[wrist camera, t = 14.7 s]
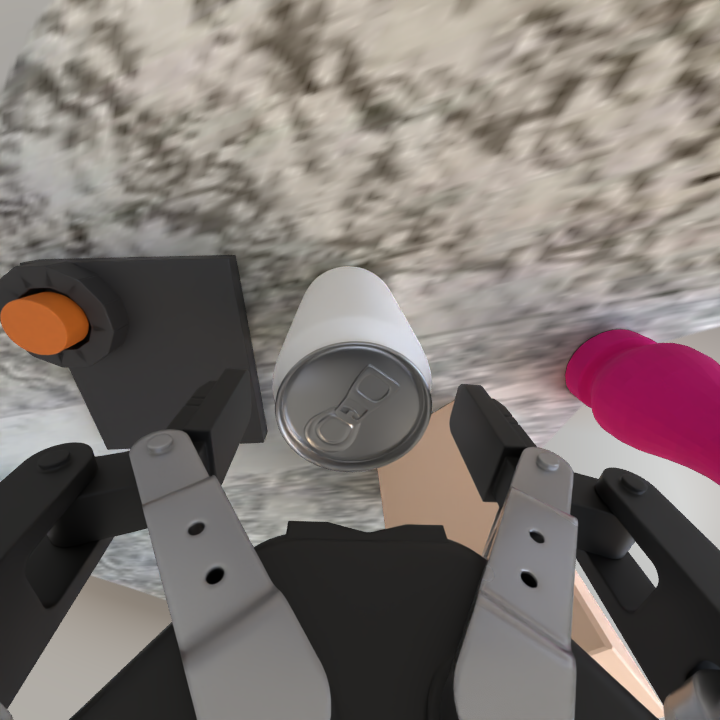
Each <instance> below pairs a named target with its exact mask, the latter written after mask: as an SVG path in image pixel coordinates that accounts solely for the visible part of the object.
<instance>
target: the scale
mask: <svg viewBox="0 0 720 720" xmlns="http://www.w3.org/2000/svg"><path fill="white" fill-rule="evenodd" d="M41 292H55V293H59V294H62V295H64V296H66V297H68V298H70V299H71V300H73V301H74V302H75V303H77V304H78V305H79V306H80V307H81V309H82V310H83V311H84V313H85V314H86V316H87V319H88V322H89V331H88V334H87V336H86V337H85V338H84V339H83V340H82V341H80V342H78V343H76V344H74V345H72V346H71V347H69V348H67V349H65V350H63V351H61V352H59V353H57V354H53V355H40V354H35V353H32V352H29V351H27V350H26V351H27V352H29V353H30V354H31V355H32V356H34V357H36V358H39V359H42V360H44V361H47V362H50V363H52V364H55V365H58V366H60V367H69V369H70V371H71V373H72V376H73V378H74V380H75V382H76V384H77V386H78V388H79V390H80V392H81V395H82V397H83V399H84V401H85V403H86V405H87V407H88V409H89V412H90V414H91V416H92V418H93V420H94V422H95V424H96V426H97V428H98V431H99V433H100V435H101V437H102V439H103V441H104V443H105V445H106V447H107V449H108V450H110V449H131V447H132V446H133V445H134V444H135V443H136V442H137V441H138V440H139V439H141V438H142V437H144V436H146V435H148V434H150V433H153V432H156V431H160V430H165V429H166V428H167V426H168V425H169V424H170V423H171V421H172V420H173V419H174V418H175V416H176V415H177V414H178V413H179V411H180V410H181V409H182V407H183V406H185V404H186V402H187V401H188V400H189V399H190V398H191V396H192V395H193V394H194V392H195V391H196V390H197V388H198V387H200V386H202V385H203V384H205V383H207V382H208V381H210V380H211V381H217V380H218V379H219V378H220V376H221V375H222V373H223V372H224V371H225V369H226V368H232V369H247V370H249V374H250V387H251V404H252V408H251V416H250V420H249V423H248V425H247V428H246V430H245V432H244V434H243V437H242V439H241V441H240V444H242V443H263V442H264V440H265V437H266V434H267V427H266V421H265V416H264V410H263V404H262V399H261V393H260V388H259V382H258V377H257V371H256V366H255V360H254V355H253V349H252V344H251V338H250V333H249V327H248V321H247V316H246V310H245V305H244V299H243V294H242V288H241V283H240V277H239V272H238V266H237V261H236V256H235V255H213V256H170V257H128V258H85V259H43V260H34V261H29V262H23V263H20V266H16V267H14V268H13V269H11V270H10V271H9V272H8V273H7V274H5V275H4V276H3V277H2V278H0V315H1V311H2V309H3V307H4V306H5V305H6V304H7V303H9V302H11V301H13V300H16V299H20V298H23V297H27V296H30V295H34V294H37V293H41ZM0 322H1V320H0Z"/></svg>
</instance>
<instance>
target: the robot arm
mask: <svg viewBox="0 0 720 720" xmlns="http://www.w3.org/2000/svg"><path fill="white" fill-rule="evenodd" d="M251 408H252V404H251V387H250V374H249V370H247V369H232V368H226V369H225V371H224V372H223V373H222V375H221V376H220V378H219V379H218V380H217V381H211V380H210V381H208V382H207V383H205V384H203V385H202V386H200V387H198V388H197V390H196V391H195V392H194V394H193V395H192V396H191V398H190V399H189V400H188V401H187V402H186V404H185V406H183V407H182V409H181V410H180V411H179V413H178V414H177V415H176V416H175V418H174V419H173V420H172V421H171V423H170V424H169V425H168V426H167V428H166V429H165V430H160V431H156V432H153V433H150V434H148V435H146V436H144V437H142V438H141V439H139V440H138V441H137V442H136V443H135V444H134V445H133V446H132V447H131V449H130V451H127V452H122V453H116V454H110V455H104V456H98V457H95V456H94V453H93V450H92V448H91V447H90V446H89V445H87V444H84V443H65V444H60V445H56V446H53V447H50V448H47V449H45V450H42V451H40V452H38V453H36V454H34V455H33V456H31V457H29V458H28V459H27V460H25V461H24V462H23V463H22V464H21V465H19V466H18V467H17V468H16V469H15V470H14V471H13V472H11V473H10V474H9V475H8V476H7V477H6V478H5V479H3V480H2V481H1V482H0V720H13V718H12V715H11V714H10V712H9V711H8V710H7V709H8V707H9V705H10V704H11V702H12V701H13V699H14V697H15V696H16V694H17V693H18V691H19V689H20V688H21V686H22V684H23V683H24V681H25V680H26V678H27V676H28V675H29V673H30V671H31V670H32V668H33V667H34V665H35V664H36V662H37V660H38V659H39V657H40V655H41V654H42V652H43V650H44V649H45V647H46V646H47V644H48V643H49V641H50V639H51V638H52V636H53V634H54V633H55V631H56V630H57V628H58V626H59V625H60V623H61V622H62V620H63V618H64V617H65V615H66V614H67V612H68V610H69V609H70V607H71V605H72V604H73V602H74V600H75V599H76V597H77V596H78V594H79V593H80V591H81V589H82V587H83V586H84V584H85V583H86V581H87V580H88V578H89V576H90V575H91V573H92V572H93V570H94V568H95V567H96V565H97V564H98V562H99V560H100V559H101V557H102V555H103V554H104V552H105V551H106V549H107V547H108V546H109V544H110V543H111V541H112V539H113V538H114V536H118V535H122V534H126V533H130V532H134V531H138V530H143V529H147V528H148V531H149V535H150V538H151V542H152V546H153V550H154V554H155V558H156V561H157V565H158V569H159V573H160V577H161V581H162V584H163V588H164V592H165V596H166V600H167V604H168V607H169V611H170V615H171V619H172V622H171V623H170V624H169V625H168V626H167V627H166V628H165V629H164V630H163V631H162V632H161V633H160V634H159V635H158V636H157V637H156V638H155V639H154V640H152V641H151V642H150V643H149V644H148V645H147V646H146V647H145V648H144V649H143V650H142V651H141V652H140V653H139V654H138V655H137V656H136V657H135V658H134V659H132V660H131V661H130V662H129V663H128V664H127V665H126V666H125V667H124V668H123V669H122V670H121V671H120V672H119V673H118V674H117V675H116V676H115V677H114V678H113V679H111V680H110V682H108V683H107V684H106V685H105V686H104V687H103V688H102V689H101V690H100V691H99V692H98V693H97V694H96V695H95V696H94V697H92V698H91V699H90V701H88V702H87V703H86V704H85V705H84V706H83V707H82V708H81V709H80V710H79V711H78V712H77V713H76V714H75V715H73V716H72V717H71V718H70V719H69V720H659V719H658V718H657V717H656V716H654V715H653V714H652V713H651V712H650V711H649V710H648V709H647V708H646V707H645V706H644V705H643V704H642V703H640V702H639V701H638V700H637V699H636V698H635V697H634V696H633V695H632V694H631V693H630V692H629V691H628V690H626V689H625V688H624V687H623V686H622V685H621V684H620V683H619V682H618V681H617V680H616V679H615V678H614V677H612V676H611V675H610V674H609V673H608V672H607V671H606V670H605V669H604V668H603V667H602V666H601V665H600V664H598V663H597V662H596V661H595V660H594V659H593V658H592V657H591V656H590V655H589V654H588V653H587V652H586V651H584V650H583V649H582V648H581V647H580V646H579V645H578V644H577V643H576V642H575V641H574V640H573V639H571V630H572V613H573V597H574V580H575V564H576V563H575V562H576V559H577V561H578V562H579V564H580V566H581V567H582V569H583V571H584V572H585V574H586V576H587V577H588V579H589V581H590V582H591V584H592V586H593V587H594V589H595V590H596V592H597V594H598V595H599V597H600V599H601V601H602V602H603V604H604V606H605V607H606V609H607V611H608V612H609V614H610V616H611V618H612V619H613V621H614V623H615V624H616V626H617V628H618V629H619V631H620V633H621V634H622V636H623V638H624V639H625V641H626V643H627V644H628V646H629V648H630V649H631V651H632V653H633V655H634V656H635V658H636V660H637V661H638V663H639V665H640V666H641V668H642V670H643V671H644V673H645V675H646V676H647V678H648V680H649V681H650V683H651V685H652V686H653V688H654V690H655V691H656V693H657V695H658V696H659V698H660V700H661V702H662V703H663V705H664V707H663V708H664V716H665V720H720V550H719V549H717V547H716V546H715V545H714V544H713V543H711V541H709V540H708V539H707V538H706V537H705V536H704V535H703V534H702V533H701V532H700V531H699V530H698V529H697V528H696V527H695V526H694V525H693V524H692V523H691V522H690V521H689V520H688V519H687V518H686V517H685V516H684V515H683V514H682V513H681V512H680V511H679V510H678V509H677V508H676V507H675V506H674V505H673V504H672V503H671V502H669V500H667V499H666V498H665V497H664V496H663V495H662V494H661V493H660V492H659V491H658V490H657V489H656V488H655V487H654V486H653V485H652V484H650V483H649V482H648V481H646V480H645V479H643V478H641V477H640V476H638V475H636V474H634V473H631V472H629V471H626V470H623V469H619V468H607V469H605V470H604V471H603V473H602V475H601V476H600V478H599V479H596V478H593V477H589V476H585V475H581V474H578V473H574V472H573V470H572V468H571V466H570V465H569V464H568V463H567V462H566V461H565V460H564V459H563V458H561V457H560V456H558V455H556V454H555V453H553V452H551V451H549V450H546V449H542V448H538V447H536V445H535V444H534V443H533V441H532V440H531V439H530V438H529V436H528V435H527V434H526V433H525V431H524V430H523V429H522V427H521V426H520V425H518V422H517V421H516V420H515V419H514V417H512V415H511V414H510V412H509V411H508V410H507V408H506V407H505V406H503V405H502V404H501V403H499V402H498V401H496V400H495V399H491V397H490V396H489V395H488V393H487V392H486V391H485V390H484V388H483V387H482V386H481V385H468V384H461V385H460V386H459V387H458V390H457V393H456V397H455V401H454V404H453V408H452V412H451V415H450V422H449V425H450V431H451V434H452V436H453V438H454V441H455V443H456V445H457V447H458V449H459V451H460V454H461V456H462V458H463V460H464V462H465V464H466V466H467V469H468V471H469V473H470V475H471V477H472V479H473V482H474V484H475V486H476V488H477V490H478V492H479V495H480V497H481V499H482V501H483V502H497V503H498V505H499V509H498V511H497V513H496V516H495V519H494V522H493V524H492V527H491V530H490V533H489V536H488V539H487V542H486V544H485V547H484V550H483V553H482V556H481V555H479V554H478V553H476V552H475V551H473V550H472V549H470V548H468V547H466V546H464V545H462V544H460V543H458V542H455V541H453V540H450V539H447V536H446V533H445V530H444V526H443V525H417V524H405V525H401V526H396V527H392V528H388V529H383V530H379V531H375V532H362V531H359V530H355V529H351V528H348V527H344V526H340V525H337V524H333V523H329V522H306V521H288V526H287V532H286V534H285V535H281V536H277V537H274V538H272V539H269V540H267V541H265V542H263V543H260V544H259V545H257V546H255V547H253V545H252V543H251V542H250V540H249V538H248V536H247V534H246V532H245V530H244V528H243V526H242V525H241V523H240V521H239V519H238V517H237V515H236V513H235V511H234V509H233V507H232V506H231V504H230V502H229V500H228V498H227V496H226V494H225V492H224V490H223V489H222V487H221V485H222V483H223V480H224V478H225V476H226V473H227V471H228V469H229V467H230V464H231V462H232V460H233V457H234V455H235V453H236V451H237V448H238V446H239V444H240V441H241V439H242V437H243V434H244V432H245V430H246V428H247V425H248V423H249V420H250V416H251ZM635 541H636V543H637V544H638V545H639V546H640V548H641V549H642V550H643V551H644V553H645V554H646V555H647V556H648V558H649V559H650V560H651V561H652V563H653V564H654V566H655V568H656V570H657V573H658V577H659V583H658V586H657V587H656V588H655V587H654V585H653V584H652V583H651V581H650V580H649V579H648V577H647V576H646V575H645V573H644V572H643V571H642V569H641V568H640V567H639V565H638V564H637V563H636V562H635V560H634V559H633V557H632V556H631V555H630V554H629V552H628V550H629V549H630V548H631V546H632V545H633V544H634V542H635Z"/></svg>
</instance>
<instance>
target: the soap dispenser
mask: <svg viewBox="0 0 720 720" xmlns="http://www.w3.org/2000/svg"><path fill="white" fill-rule="evenodd" d="M454 401H455V400H454ZM454 401H452V402H451V403H449V404H447V405H446V406H444V407H443V408H441V409H439V410H438V411H436V412H434V413H433V414H431V417H430V421H429V424H428V426H427V429H426V431H425V433H424V435H423V436H422V438H421V439H420V440H419V442H418V443H417V444H416V445H415V446H414V447H413V448H412V449H411V450H410V451H409V452H408V453H407V454H405V455H404V456H403V457H401V458H400V459H398V460H396V461H394V462H393V463H390V464H388V465H386V466H383V467H380V468H377V469H378V477H379V484H380V492H381V499H382V507H383V514H384V521H385V529H388V528H392V527H396V526H401V525H405V524H417V525H443V526H444V530H445V533H446V536H447V539H450V540H453V541H455V542H458V543H460V544H462V545H464V546H466V547H468V548H470V549H472V550H473V551H475V552H476V553H478V554H479V555H481V556H482V553H483V550H484V547H485V544H486V542H487V539H488V536H489V533H490V530H491V527H492V524H493V522H494V519H495V516H496V513H497V511H498V509H499V505H498V503H497V502H483V501H482V499H481V497H480V495H479V492H478V490H477V488H476V486H475V484H474V482H473V479H472V477H471V475H470V473H469V471H468V469H467V466H466V464H465V462H464V460H463V458H462V456H461V454H460V451H459V449H458V447H457V445H456V443H455V441H454V438H453V436H452V434H451V431H450V425H449V422H450V415H451V412H452V408H453V404H454ZM571 639H573V640H574V641H575V642H576V643H577V644H578V645H579V646H580V647H581V648H582V649H583V650H584V651H586V652H587V653H588V654H589V655H590V656H591V657H592V658H593V659H594V660H595V661H596V662H597V663H598V664H600V665H601V666H602V667H603V668H604V669H605V670H606V671H607V672H608V673H609V674H610V675H611V676H612V677H614V678H615V679H616V680H617V681H618V682H619V683H620V684H621V685H622V686H623V687H624V688H625V689H626V690H628V691H629V692H630V693H631V694H632V695H633V696H634V697H635V698H636V699H637V700H638V701H639V702H640V703H642V704H643V705H644V706H645V707H646V708H647V709H648V710H649V711H650V712H651V713H652V714H653V715H654V716H656V717H657V718H660V717H664V708H663V706H662V704H661V703H660V701H659V699H658V698H657V696H656V695H655V693H654V691H653V690H652V688H651V687H650V685H649V684H648V682H647V681H646V679H645V677H644V676H643V674H642V673H641V671H640V670H639V668H638V666H637V665H636V664H635V662H634V660H633V659H632V657H631V655H630V654H629V652H628V651H627V649H626V648H625V646H624V645H623V643H622V641H621V640H620V638H619V637H618V635H617V634H616V632H615V631H614V629H613V628H612V626H611V624H610V623H609V621H608V620H607V618H606V617H605V615H604V613H603V612H602V610H601V609H600V607H599V606H598V604H597V602H596V601H595V599H594V598H593V596H592V595H591V593H590V592H589V590H588V588H587V587H586V585H585V584H584V582H583V581H582V579H581V577H580V576H579V575H578V573H577V571H576V570H575V580H574V597H573V613H572V630H571Z"/></svg>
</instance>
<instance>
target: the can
mask: <svg viewBox="0 0 720 720" xmlns="http://www.w3.org/2000/svg"><path fill="white" fill-rule="evenodd" d="M272 388H273V397H274V401H275V415H276V421H277V425H278V428H279V430H280V432H281V434H282V436H283V438H284V439H285V441H286V442H287V444H288V445H289V446H290V447H291V448H292V449H293V450H294V451H295V452H296V453H297V454H298V455H300V456H301V457H302V458H304V459H305V460H307V461H309V462H311V463H313V464H315V465H317V466H320V467H323V468H326V469H330V470H334V471H341V472H362V471H369V470H373V469H377V468H380V467H383V466H386V465H388V464H390V463H393V462H394V461H396V460H398V459H400V458H401V457H403V456H404V455H405V454H407V453H408V452H409V451H410V450H411V449H412V448H413V447H414V446H415V445H416V444H417V443H418V442H419V440H420V439H421V438H422V436H423V435H424V433H425V431H426V429H427V426H428V424H429V421H430V417H431V411H432V400H431V388H432V378H431V371H430V367H429V363H428V360H427V358H426V355H425V353H424V351H423V349H422V347H421V345H420V343H419V341H418V339H417V337H416V336H415V334H414V332H413V330H412V328H411V326H410V325H409V323H408V321H407V319H406V317H405V316H404V314H403V312H402V310H401V308H400V307H399V305H398V303H397V301H396V300H395V298H394V296H393V294H392V293H391V291H390V290H389V288H388V287H387V285H386V284H385V283H384V282H383V281H382V280H381V279H380V278H379V277H378V276H377V275H375V274H374V273H372V272H370V271H368V270H366V269H363V268H359V267H353V266H344V267H337V268H334V269H331V270H328V271H326V272H324V273H323V274H321V275H320V276H319V277H317V278H316V279H315V280H314V281H313V282H312V283H311V285H310V286H309V287H308V289H307V291H306V292H305V294H304V297H303V299H302V301H301V303H300V306H299V308H298V310H297V313H296V315H295V317H294V320H293V322H292V324H291V327H290V329H289V332H288V334H287V336H286V339H285V341H284V344H283V346H282V349H281V351H280V354H279V356H278V359H277V362H276V365H275V369H274V375H273V383H272Z"/></svg>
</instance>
